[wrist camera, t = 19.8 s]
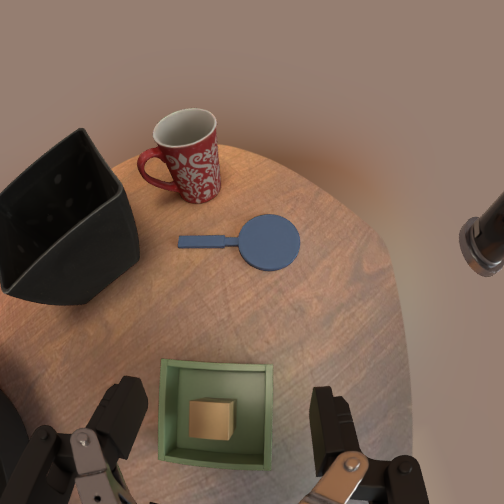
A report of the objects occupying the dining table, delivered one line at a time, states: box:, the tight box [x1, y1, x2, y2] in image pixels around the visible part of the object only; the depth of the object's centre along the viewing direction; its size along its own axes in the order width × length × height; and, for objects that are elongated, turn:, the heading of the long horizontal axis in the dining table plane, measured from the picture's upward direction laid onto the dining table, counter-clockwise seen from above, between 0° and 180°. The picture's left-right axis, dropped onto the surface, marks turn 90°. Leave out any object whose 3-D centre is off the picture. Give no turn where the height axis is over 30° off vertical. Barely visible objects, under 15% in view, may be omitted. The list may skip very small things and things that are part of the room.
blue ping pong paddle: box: [178, 214, 300, 271], centre depth 42 cm, size 18×9×1 cm, turn 89°
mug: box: [137, 108, 221, 203], centre depth 41 cm, size 13×9×14 cm
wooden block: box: [189, 397, 237, 440], centre depth 27 cm, size 4×4×8 cm
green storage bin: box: [158, 359, 273, 471], centre depth 29 cm, size 13×13×6 cm
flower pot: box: [0, 128, 140, 306], centre depth 34 cm, size 19×19×17 cm
